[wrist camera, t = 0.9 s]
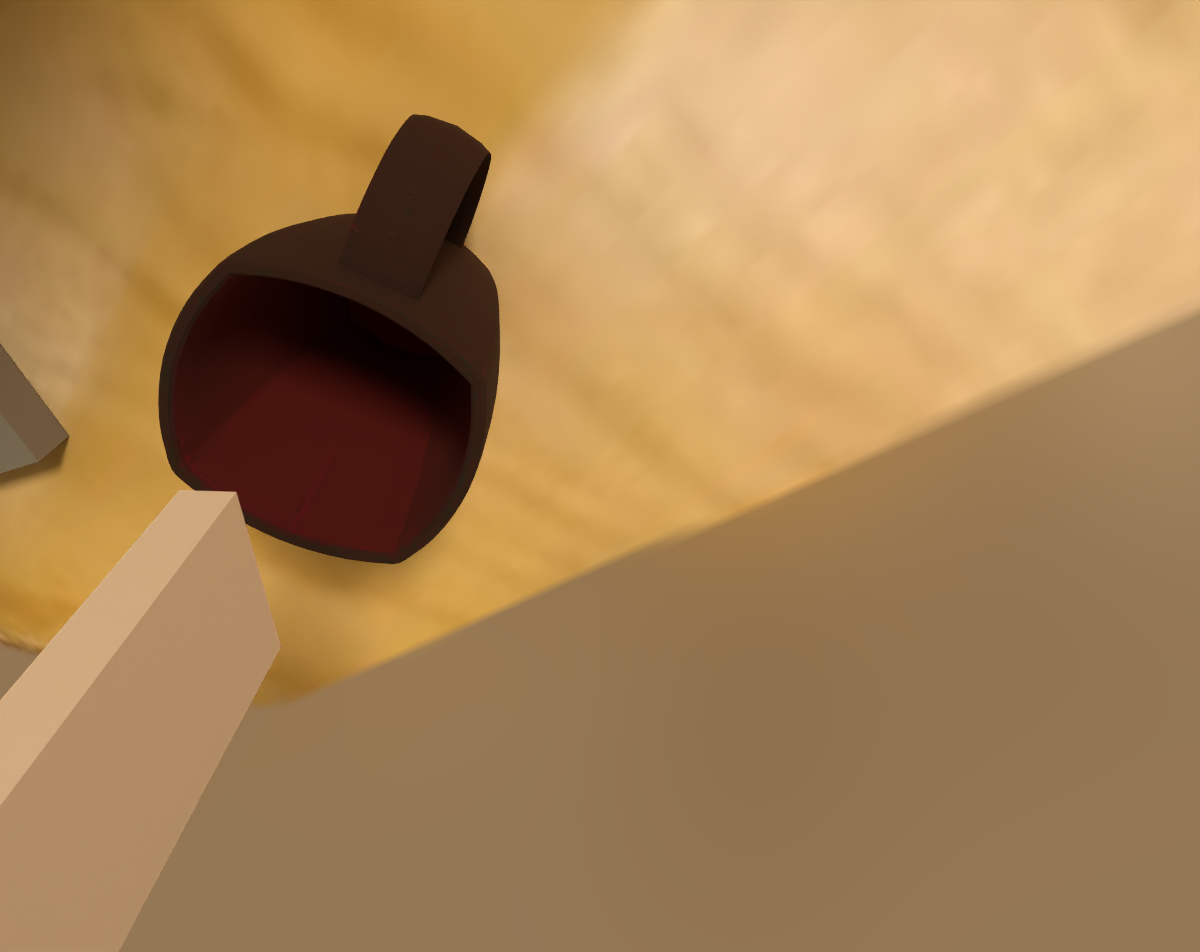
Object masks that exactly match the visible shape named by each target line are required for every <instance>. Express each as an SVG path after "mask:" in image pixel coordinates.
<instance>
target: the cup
mask: <svg viewBox="0 0 1200 952" xmlns="http://www.w3.org/2000/svg"><path fill="white" fill-rule="evenodd" d="M490 161H491V153H490V152H489V151H488V150H487V149H486V148H485V147H484V146H483V144H482V143H480V142H479V141H478V140H476V139H475V138H473V137H472V136H471V135H469V134H468V133H466V132H465V131H464V130H462V129H461V128H459V127H458V126H456V125H453V124H450V123H447V122H445V121H442V120H439V119H436V118H433V117H430V116H426V115H416V114H414V115H411V116H410V117H409V118H408V119H407V120H406V121H405V123H404V124H403V125H402V127H401V128H400V129H399V131H398V132H397V134H396V135H395V137H394V138H393V140H392V141H391V143H390V145H389V146H388V148H387V150H386V152H385V154H384V156H383V158H382V160H381V161H380V163H379V166H378V168H377V170H376V172H375V174H374V176H373V178H372V180H371V182H370V184H369V186H368V188H367V191H366V193H365V195H364V197H363V200H362V202H361V204H360V207H359V209H358V211H357V214H342V215H335V216H329V217H325V218H320V219H316V220H312V221H308V222H304V223H300V224H296V225H292V226H289V227H286V228H283V229H280V230H277V231H274V232H272V233H269V234H267V235H265V236H263V237H261V238H259V239H257V240H255V241H253V242H251V243H249V244H248V245H246V246H244V247H243V248H241V249H239V250H238V251H236V252H235V253H233V254H231V255H230V256H228V257H227V258H226V259H225V260H223V261H222V262H221V263H219V264H218V265H217V266H216V267H215V268H214V269H213V270H212V272H211V273H210V274H209V275H208V276H207V277H206V278H205V279H204V280H203V281H202V282H201V283H200V285H199V286H198V287H197V288H196V289H195V291H194V292H193V293H192V295H191V296H190V298H189V299H188V301H187V302H186V304H185V305H184V307H183V309H182V311H181V312H180V314H179V316H178V318H177V320H176V322H175V325H174V327H173V329H172V331H171V334H170V337H169V340H168V342H167V345H166V349H165V353H164V356H163V361H162V366H161V372H160V381H159V402H158V404H159V420H160V428H161V434H162V439H163V443H164V446H165V450H166V454H167V458H168V461H169V464H170V466H171V468H172V470H173V472H174V473H175V474H176V475H177V476H178V477H179V478H180V479H181V480H182V481H184V482H185V483H186V484H187V485H189V486H190V487H191V488H192V489H194V490H195V491H222V492H236V493H237V496H238V500H239V503H240V507H241V510H242V513H243V517H244V520H245V523H246V524H248V525H249V526H251V527H253V528H256V529H258V530H260V531H262V532H264V533H266V534H268V535H270V536H273V537H275V538H277V539H280V540H282V541H285V542H288V543H290V544H293V545H296V546H299V547H302V548H305V549H308V550H311V551H315V552H318V553H322V554H326V555H330V556H335V557H340V558H344V559H350V560H357V561H365V562H374V563H387V564H397V563H400V562H402V561H404V560H406V559H407V558H409V557H410V556H412V555H413V554H414V553H416V552H417V551H419V550H420V549H421V548H423V547H424V546H425V545H426V544H428V543H429V542H430V541H431V540H432V539H433V538H434V537H435V536H436V535H437V534H438V533H439V532H440V531H441V530H442V529H443V528H444V527H445V525H446V524H447V523H448V522H449V520H450V519H451V518H452V516H453V515H454V513H455V512H456V510H457V509H458V507H459V506H460V504H461V503H462V501H463V499H464V497H465V496H466V494H467V492H468V490H469V488H470V485H471V483H472V481H473V478H474V476H475V473H476V471H477V468H478V465H479V462H480V459H481V456H482V453H483V450H484V446H485V442H486V439H487V435H488V431H489V427H490V423H491V419H492V414H493V409H494V404H495V399H496V393H497V384H498V375H499V359H500V324H499V302H498V294H497V288H496V285H495V282H494V280H493V277H492V275H491V273H490V272H489V270H488V268H487V267H486V266H485V265H484V264H483V263H482V262H481V261H480V260H479V258H478V257H477V256H475V255H474V254H473V253H472V252H471V251H470V250H469V249H468V248H467V247H465V246H464V245H463V244H464V241H465V239H466V236H467V234H468V231H469V228H470V226H471V223H472V220H473V217H474V214H475V212H476V209H477V206H478V203H479V200H480V197H481V193H482V190H483V187H484V184H485V181H486V177H487V174H488V170H489V166H490Z"/></svg>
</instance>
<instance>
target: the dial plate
mask: <svg viewBox="0 0 1200 952" xmlns="http://www.w3.org/2000/svg"><path fill="white" fill-rule="evenodd" d="M68 436H69V435H68V434H67V433H66V431H65V430H64V429H63V427H62V426H61V425H60V423H59V422H58V421H57V419H56V418H55V417H54V415H53V414H52V413H51V411H50V410H49V409H48V407H47V406H46V405H45V403H44V402H43V401H42V399H41V398H40V397H39V395H38V394H37V393H36V391H35V390H34V389H33V387H32V386H31V385H30V383H29V382H28V381H27V379H26V378H25V377H24V375H23V374H22V373H21V371H20V370H19V369H18V367H17V366H16V365H15V363H14V362H13V361H12V359H11V358H10V357H9V355H8V354H7V353H6V351H5V350H4V349H3V347H2V346H1V345H0V473H3V472H7V471H10V470H13V469H17V468H20V467H23V466H26V465H30V464H33V463H36V462H39V461H40V460H41V459H43V458H44V457H45V456H46V455H47V454H48V453H50V452H51V451H52V450H53V449H54V448H56V447H57V446H58V445H59V444H60V443H61V442H63V441H64V440H65V439H66V438H67V437H68Z"/></svg>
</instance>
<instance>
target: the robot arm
mask: <svg viewBox="0 0 1200 952" xmlns="http://www.w3.org/2000/svg"><path fill="white" fill-rule="evenodd" d="M280 648H281V645H280V642H279V638H278V635H277V631H276V628H275V624H274V621H273V617H272V614H271V610H270V607H269V603H268V600H267V597H266V593H265V590H264V586H263V583H262V579H261V576H260V572H259V569H258V565H257V562H256V558H255V555H254V552H253V548H252V545H251V541H250V538H249V534H248V531H247V527H246V524H245V520H244V517H243V513H242V510H241V507H240V503H239V500H238V496H237V493H236V492H222V491H190V490H179V491H178V492H177V494H176V495H175V496H174V497H173V498H172V499H171V501H170V502H169V503H168V504H167V505H166V506H165V508H164V509H163V510H162V511H161V512H160V513H159V515H158V516H157V517H156V518H155V519H154V521H153V522H152V523H151V524H150V525H149V526H148V528H147V529H146V530H145V531H144V532H143V533H142V535H141V536H140V537H139V538H138V539H137V540H136V542H135V543H134V544H133V545H132V546H131V547H130V549H129V550H128V551H127V552H126V553H125V555H124V556H123V557H122V558H121V559H120V560H119V562H118V563H117V564H116V565H115V566H114V567H113V569H112V570H111V571H110V572H109V573H108V574H107V576H106V577H105V578H104V579H103V580H102V581H101V583H100V584H99V585H98V586H97V587H96V589H95V590H94V591H93V592H92V593H91V594H90V596H89V597H88V598H87V599H86V600H85V601H84V603H83V604H82V605H81V606H80V607H79V608H78V610H77V611H76V612H75V613H74V614H73V615H72V617H71V618H70V619H69V620H68V621H67V623H66V624H65V625H64V626H63V627H62V628H61V630H60V631H59V632H58V633H57V634H56V635H55V637H54V638H53V639H52V640H51V641H50V642H49V644H48V645H47V646H46V647H45V648H44V649H43V651H42V652H41V653H40V654H39V655H38V657H37V658H36V659H35V660H34V661H33V662H32V664H31V665H30V666H29V667H28V668H27V669H26V671H25V672H24V673H23V674H22V675H21V676H20V678H19V679H18V680H17V681H16V682H15V684H14V685H13V686H12V687H11V688H10V689H9V691H8V692H7V693H6V694H5V695H4V696H3V698H2V699H1V700H0V952H119V950H120V948H121V946H122V944H123V942H124V941H125V939H126V937H127V935H128V933H129V931H130V929H131V927H132V926H133V924H134V922H135V920H136V918H137V916H138V914H139V912H140V911H141V909H142V906H143V905H144V903H145V901H146V899H147V897H148V896H149V894H150V892H151V890H152V888H153V886H154V884H155V882H156V880H157V879H158V877H159V875H160V873H161V871H162V869H163V867H164V865H165V864H166V862H167V860H168V858H169V856H170V854H171V852H172V850H173V849H174V847H175V845H176V843H177V841H178V839H179V837H180V835H181V833H182V832H183V830H184V828H185V826H186V824H187V822H188V820H189V819H190V817H191V815H192V813H193V811H194V809H195V807H196V805H197V804H198V802H199V800H200V798H201V796H202V794H203V792H204V790H205V788H206V787H207V785H208V783H209V781H210V779H211V777H212V775H213V773H214V772H215V770H216V768H217V766H218V764H219V762H220V760H221V758H222V756H223V755H224V753H225V750H226V749H227V747H228V745H229V743H230V741H231V740H232V738H233V736H234V734H235V732H236V730H237V728H238V727H239V725H240V723H241V721H242V719H243V717H244V715H245V713H246V711H247V710H248V708H249V706H250V704H251V702H252V700H253V698H254V696H255V695H256V693H257V691H258V689H259V687H260V685H261V683H262V681H263V680H264V678H265V676H266V674H267V672H268V670H269V668H270V666H271V665H272V663H273V661H274V659H275V657H276V655H277V653H278V651H279V650H280Z"/></svg>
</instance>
